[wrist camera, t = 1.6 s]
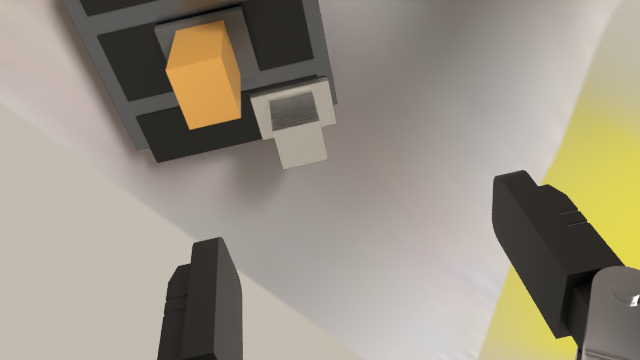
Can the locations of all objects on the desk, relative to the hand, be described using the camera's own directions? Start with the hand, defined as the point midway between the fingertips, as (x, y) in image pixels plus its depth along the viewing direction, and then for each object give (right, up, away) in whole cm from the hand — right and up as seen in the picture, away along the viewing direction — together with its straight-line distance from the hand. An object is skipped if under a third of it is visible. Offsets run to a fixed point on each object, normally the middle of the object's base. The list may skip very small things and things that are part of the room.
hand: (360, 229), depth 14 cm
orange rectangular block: (-7, +8, +12) cm, 16 cm away
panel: (-7, +9, +14) cm, 19 cm away
